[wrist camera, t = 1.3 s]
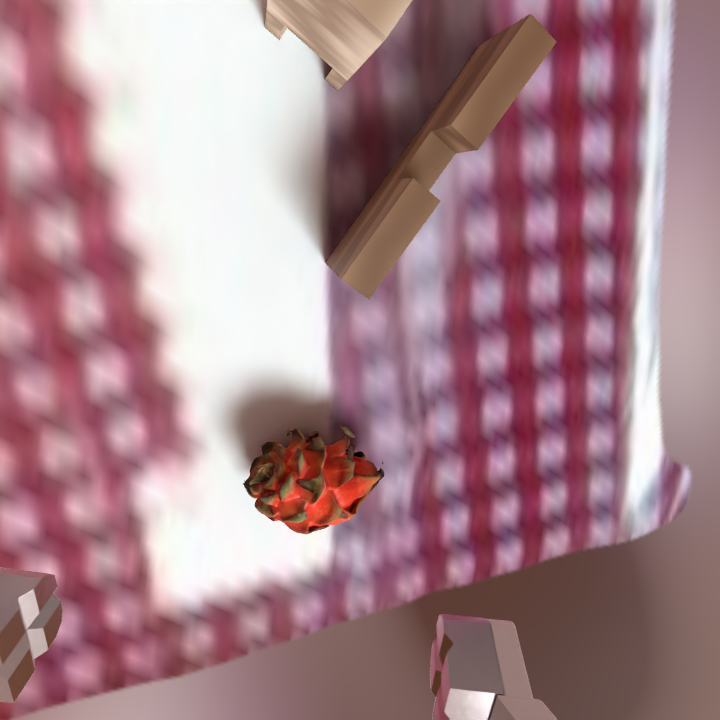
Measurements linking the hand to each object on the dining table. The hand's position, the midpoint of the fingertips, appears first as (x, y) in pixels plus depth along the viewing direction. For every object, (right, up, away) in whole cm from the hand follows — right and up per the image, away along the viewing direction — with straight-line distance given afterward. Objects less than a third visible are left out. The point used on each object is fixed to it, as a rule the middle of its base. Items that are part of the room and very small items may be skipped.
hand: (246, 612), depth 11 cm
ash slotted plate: (-1, +28, +27) cm, 39 cm away
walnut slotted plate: (+6, +21, +31) cm, 38 cm away
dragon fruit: (-2, -3, +37) cm, 37 cm away
